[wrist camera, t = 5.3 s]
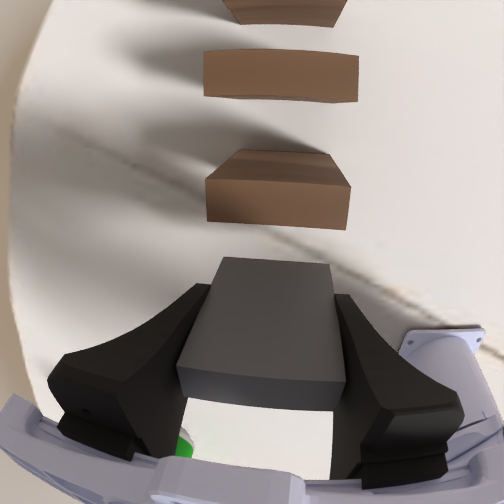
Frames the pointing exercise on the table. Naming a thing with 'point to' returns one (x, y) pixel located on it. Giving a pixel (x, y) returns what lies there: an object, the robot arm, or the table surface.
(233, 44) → the table surface
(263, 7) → the domino
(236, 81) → the domino
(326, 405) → the domino
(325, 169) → the domino
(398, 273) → the table surface
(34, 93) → the table surface
